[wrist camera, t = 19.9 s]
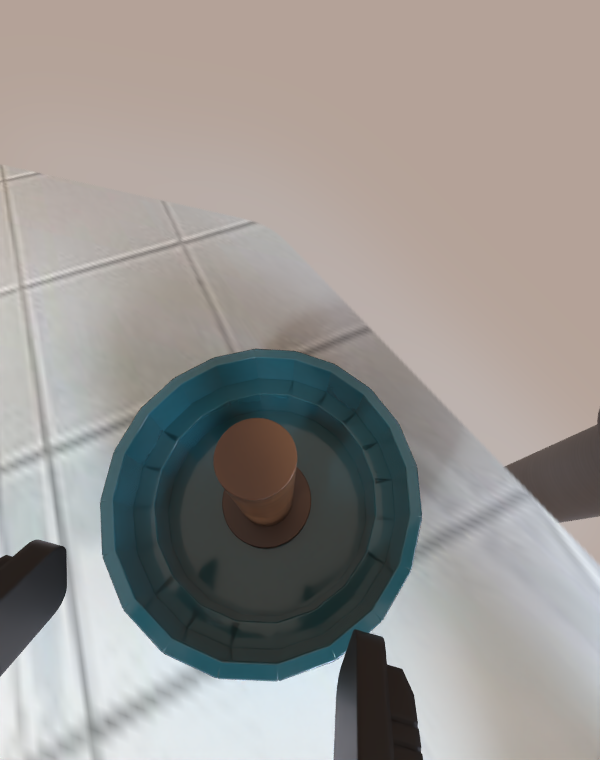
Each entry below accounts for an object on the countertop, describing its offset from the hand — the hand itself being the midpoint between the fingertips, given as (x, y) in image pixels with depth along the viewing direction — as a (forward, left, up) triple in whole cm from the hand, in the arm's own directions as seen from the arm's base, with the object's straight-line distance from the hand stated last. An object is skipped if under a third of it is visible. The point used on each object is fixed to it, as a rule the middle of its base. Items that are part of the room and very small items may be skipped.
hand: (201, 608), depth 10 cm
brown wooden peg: (-2, -4, -12) cm, 13 cm away
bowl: (-2, -4, -13) cm, 14 cm away
